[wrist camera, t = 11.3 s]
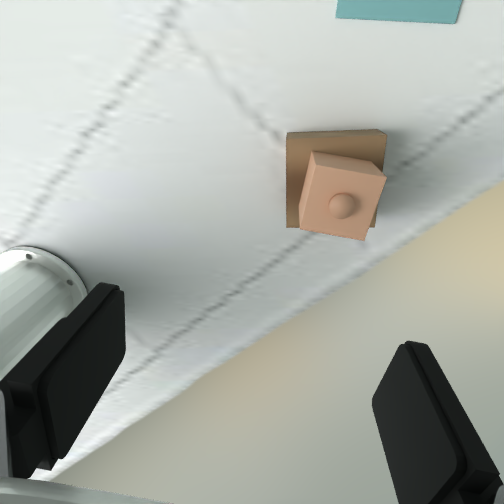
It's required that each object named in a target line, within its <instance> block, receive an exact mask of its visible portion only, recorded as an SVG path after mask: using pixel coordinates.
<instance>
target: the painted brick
mask: <svg viewBox="0 0 504 504" xmlns="http://www.w3.org/2000/svg"><path fill="white" fill-rule="evenodd" d="M386 179H387V177H386V176H385V175H384V174H383V173H382V172H381V171H380V170H379V169H378V168H377V167H376V166H375V165H374V164H373V163H372V162H371V161H366V160H361V159H355V158H349V157H344V156H338V155H332V154H327V153H321V152H315V151H312V152H311V156H310V160H309V164H308V169H307V173H306V177H305V182H304V186H303V190H302V194H301V199H300V203H299V222H300V229H302V230H307V231H313V232H318V233H324V234H329V235H335V236H340V237H346V238H351V239H357V240H362V241H364V240H365V237H366V234H367V231H368V229H369V226H370V223H371V220H372V217H373V215H374V212H375V209H376V206H377V204H378V201H379V198H380V195H381V192H382V190H383V187H384V184H385V181H386Z"/></svg>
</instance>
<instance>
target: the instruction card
mask: <svg viewBox="0 0 504 504" xmlns="http://www.w3.org/2000/svg"><path fill="white" fill-rule="evenodd" d="M461 1H462V0H338V4H337V10H336V17H335V18H345V19H365V20H385V21H404V22H424V23H444V24H455V22H456V18H457V15H458V11H459V8H460V5H461Z"/></svg>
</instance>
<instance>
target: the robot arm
mask: <svg viewBox="0 0 504 504" xmlns="http://www.w3.org/2000/svg"><path fill="white" fill-rule="evenodd" d="M125 351H126V342H125V304H124V292H123V291H121V290H120V288H119V286H117V285H113V284H108V283H102V282H101V283H99V284H97V285H96V286H95V288H94V289H93V290H92V291H91V292H90V293H89V294H87V291H86V288H85V286H84V284H83V282H82V280H81V279H80V277H79V276H78V275H77V274H76V272H75V271H74V270H73V269H72V268H71V267H70V266H69V265H68V264H66V263H65V262H64V261H62V260H61V259H60V258H58V257H56V256H54V255H53V254H51V253H49V252H46V251H44V250H41V249H37V248H33V247H23V246H21V247H14V248H11V249H8V250H6V251H4V252H3V253H1V254H0V504H173V503H167V502H162V501H157V500H151V499H146V498H140V497H135V496H129V495H124V494H119V493H113V492H108V491H102V490H96V489H90V488H84V487H78V486H72V485H66V484H59V483H54V482H48V481H40V480H31V479H28V478H30V477H31V476H32V474H33V473H34V471H35V469H36V468H39V469H44V470H50V471H51V470H52V468H53V466H54V465H55V463H56V462H57V460H58V459H63V458H64V457H65V456H66V455H67V453H68V452H69V450H70V448H71V447H72V445H73V443H74V442H75V440H76V438H77V437H78V435H79V433H80V432H81V430H82V428H83V426H84V425H85V423H86V421H87V420H88V418H89V416H90V415H91V413H92V411H93V410H94V408H95V406H96V404H97V403H98V401H99V399H100V398H101V396H102V394H103V393H104V391H105V389H106V387H107V386H108V384H109V382H110V381H111V379H112V377H113V376H114V374H115V372H116V371H117V369H118V367H119V365H120V364H121V362H122V360H123V358H124V355H125ZM372 408H373V412H374V416H375V419H376V423H377V426H378V430H379V433H380V437H381V441H382V444H383V448H384V452H385V455H386V459H387V463H388V466H389V470H390V473H391V477H392V480H393V484H394V488H395V491H396V495H397V499H398V502H399V504H504V484H503V482H502V480H501V479H500V477H499V474H500V473H499V471H498V470H497V468H496V466H495V464H494V462H493V461H492V459H491V457H490V455H489V453H488V452H487V450H486V448H485V446H484V444H483V443H482V441H481V439H480V437H479V435H478V434H477V432H476V430H475V429H474V427H473V425H472V423H471V421H470V419H469V418H468V416H467V414H466V412H465V411H464V409H463V407H462V405H461V403H460V402H459V400H458V398H457V396H456V394H455V393H454V391H453V389H452V387H451V385H450V384H449V382H448V380H447V378H446V376H445V375H444V373H443V371H442V369H441V368H440V366H439V364H438V362H437V360H436V359H435V357H434V355H433V353H432V351H431V350H430V348H429V346H428V345H427V344H424V343H418V342H413V341H406V342H405V344H401V345H400V346H399V347H398V349H397V351H396V353H395V355H394V357H393V359H392V361H391V362H390V364H389V366H388V368H387V370H386V372H385V374H384V376H383V378H382V380H381V382H380V384H379V386H378V388H377V390H376V392H375V394H374V396H373V398H372Z"/></svg>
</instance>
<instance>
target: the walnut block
mask: <svg viewBox="0 0 504 504" xmlns="http://www.w3.org/2000/svg"><path fill="white" fill-rule="evenodd" d="M386 140H387V135H386V134H384V133H383V132H381V131H379V130H377V129H368V130H343V131H318V132H293V133H287V137H286V228H300V222H299V203H300V199H301V194H302V190H303V186H304V182H305V177H306V173H307V169H308V164H309V160H310V156H311V152H312V151H315V152H321V153H327V154H332V155H338V156H344V157H349V158H355V159H361V160H366V161H371V162H372V163H373V164H374V165H375V166H376V167H377V168H378V169H379V170H380V171H381V172H382V169H383V162H384V154H385V147H386ZM377 206H378V204H377ZM377 206H376V209H375V212H374V215H373V217H372V220H371V223H370V226H369V227H375V221H376V213H377Z"/></svg>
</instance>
